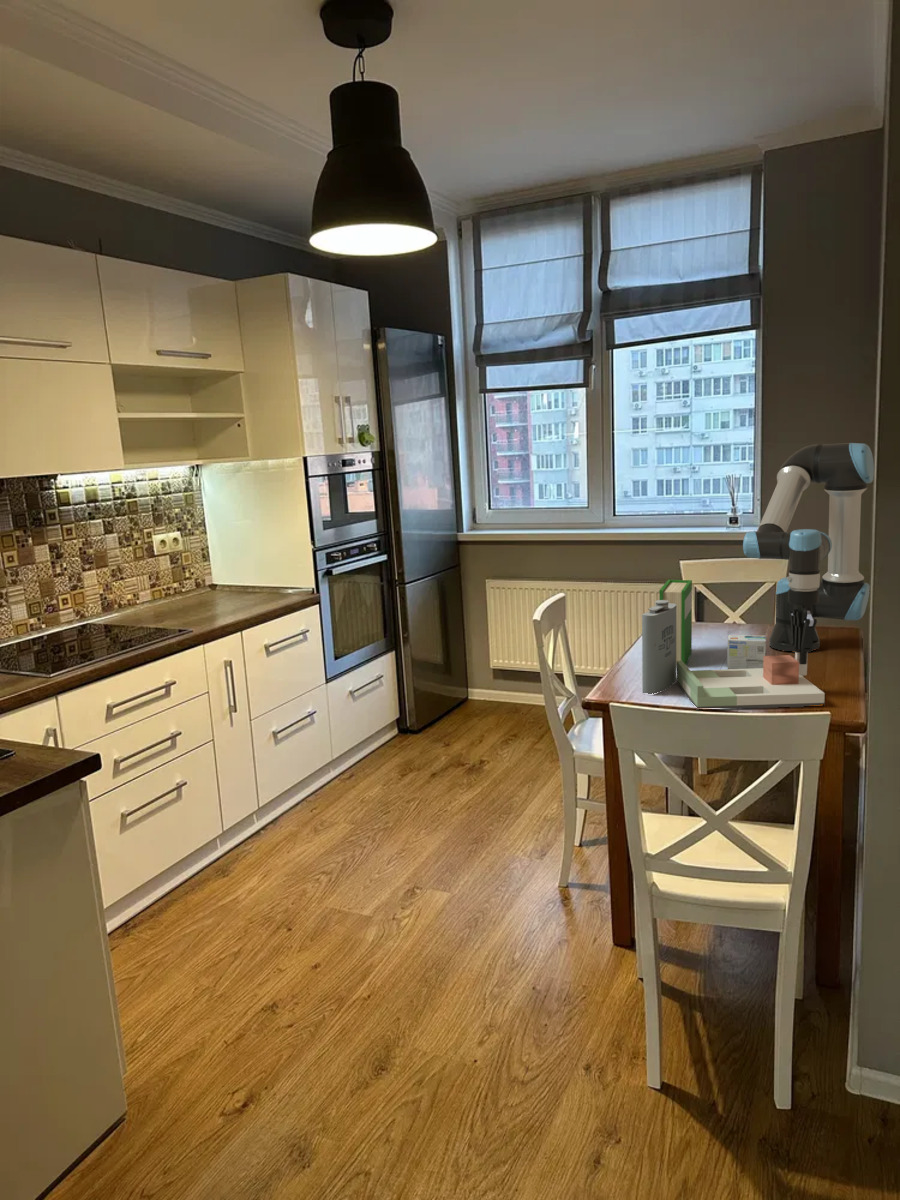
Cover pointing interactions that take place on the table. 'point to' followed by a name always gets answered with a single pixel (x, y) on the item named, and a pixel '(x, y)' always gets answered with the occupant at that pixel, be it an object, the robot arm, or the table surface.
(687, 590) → the hardback book
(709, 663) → the table surface
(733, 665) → the light bulb box
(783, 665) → the block
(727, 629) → the table surface
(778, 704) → the box
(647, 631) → the flask
